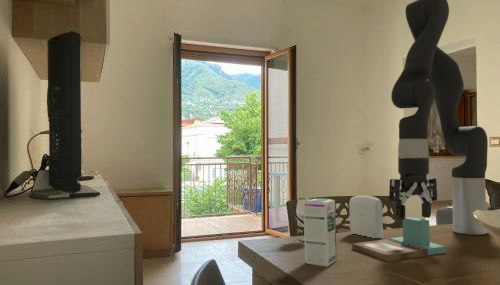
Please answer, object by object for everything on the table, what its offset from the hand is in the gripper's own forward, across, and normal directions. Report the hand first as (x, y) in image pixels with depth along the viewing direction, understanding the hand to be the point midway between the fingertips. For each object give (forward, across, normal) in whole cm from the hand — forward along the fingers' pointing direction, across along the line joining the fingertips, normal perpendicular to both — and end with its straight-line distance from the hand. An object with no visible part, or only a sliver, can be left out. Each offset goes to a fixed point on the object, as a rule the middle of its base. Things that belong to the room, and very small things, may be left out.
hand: (413, 218), depth 103 cm
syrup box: (+9, +29, +1) cm, 30 cm away
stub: (+8, 0, 0) cm, 8 cm away
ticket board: (+8, +9, 0) cm, 12 cm away
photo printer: (+8, +1, -18) cm, 20 cm away
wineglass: (+9, +20, -20) cm, 30 cm away
